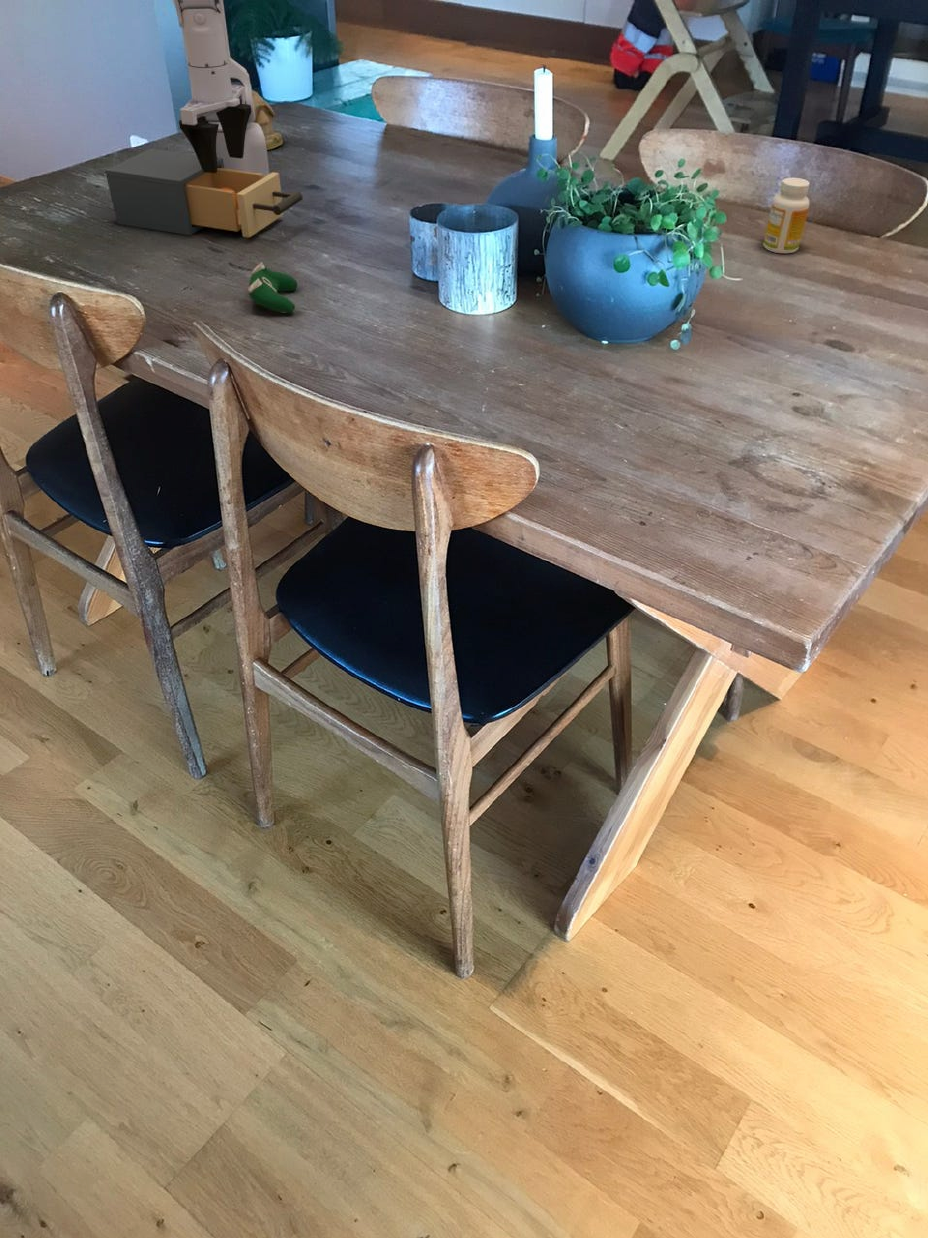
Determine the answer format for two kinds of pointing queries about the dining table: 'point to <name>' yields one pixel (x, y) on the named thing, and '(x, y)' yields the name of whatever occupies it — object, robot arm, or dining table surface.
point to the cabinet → (155, 190)
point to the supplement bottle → (787, 216)
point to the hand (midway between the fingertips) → (223, 164)
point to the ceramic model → (266, 121)
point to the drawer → (253, 196)
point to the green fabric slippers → (271, 289)
